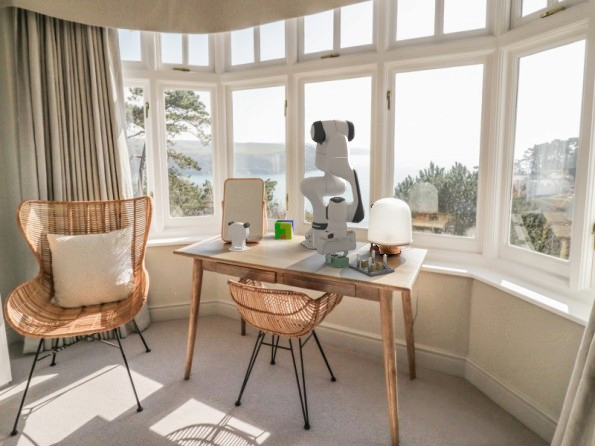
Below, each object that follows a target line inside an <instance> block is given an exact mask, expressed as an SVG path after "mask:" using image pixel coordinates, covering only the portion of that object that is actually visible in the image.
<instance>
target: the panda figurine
mask: <svg viewBox="0 0 595 446" xmlns="http://www.w3.org/2000/svg"><path fill="white" fill-rule="evenodd" d="M227 225H228V236H229V237H230V239H231V247H229V248H228V251H229V250H230V251H229V252H233V251H234V253H235V252H236V253H239V252H240V253H241V252H246V251H249V250H250V247H249V246H247V245H246V243H247V242H248V237H249V236H250V233H251V231H250V226H251V224H250V223H249V222H247V221H246V222H245V223H244V222H240V221H237V222H235V221H229V222H228V223H227Z"/></svg>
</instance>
